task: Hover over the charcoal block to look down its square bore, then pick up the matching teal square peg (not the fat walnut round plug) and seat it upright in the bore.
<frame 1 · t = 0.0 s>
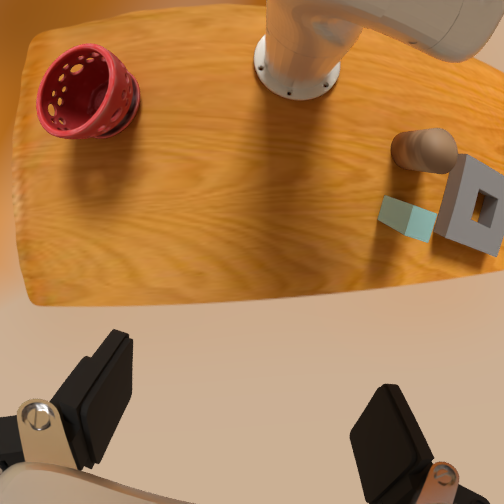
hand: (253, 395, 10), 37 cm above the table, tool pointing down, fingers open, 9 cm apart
plant pot: (111, 101, 41), on the table
square peg: (391, 210, 45), on the table
round plug: (407, 150, 42), on the table
socket block: (472, 204, 43), on the table
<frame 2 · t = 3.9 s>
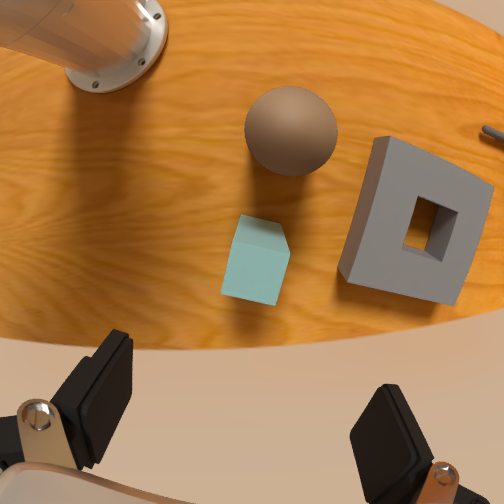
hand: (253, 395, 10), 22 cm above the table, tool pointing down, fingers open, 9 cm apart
square peg: (256, 238, 31), on the table
round plug: (281, 139, 28), on the table
socket block: (413, 221, 30), on the table
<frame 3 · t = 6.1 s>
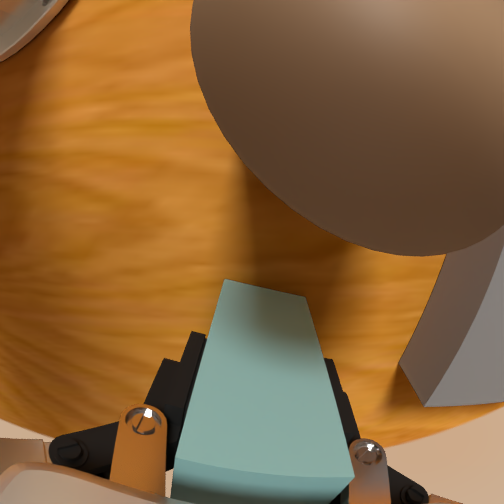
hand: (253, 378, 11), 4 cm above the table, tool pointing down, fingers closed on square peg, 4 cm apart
square peg: (255, 323, 15), on the table, touching gripper
round plug: (309, 120, 12), on the table
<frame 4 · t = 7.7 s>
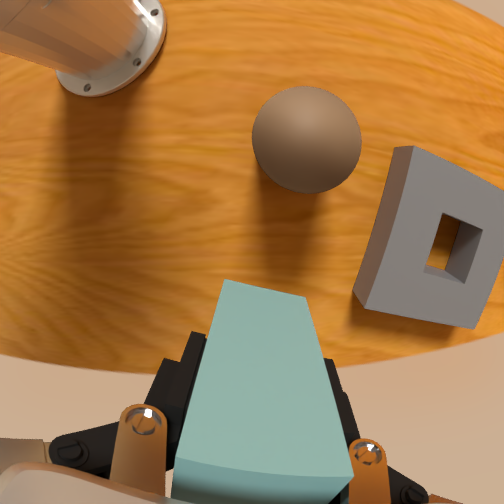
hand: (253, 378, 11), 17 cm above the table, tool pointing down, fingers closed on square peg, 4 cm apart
square peg: (255, 323, 15), point 13 cm above the table, touching gripper
round plug: (292, 148, 25), on the table
socket block: (434, 239, 27), on the table
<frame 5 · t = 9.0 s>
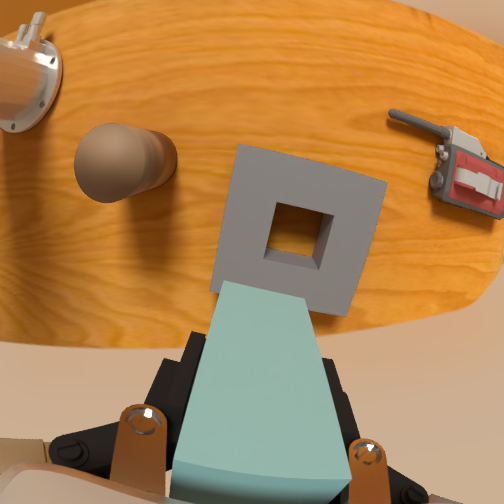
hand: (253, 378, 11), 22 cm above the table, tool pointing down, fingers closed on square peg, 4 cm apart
walkie-talkie: (450, 166, 30), on the table
square peg: (254, 324, 15), point 17 cm above the table, touching gripper
round plug: (149, 159, 30), on the table
socket block: (293, 227, 32), on the table
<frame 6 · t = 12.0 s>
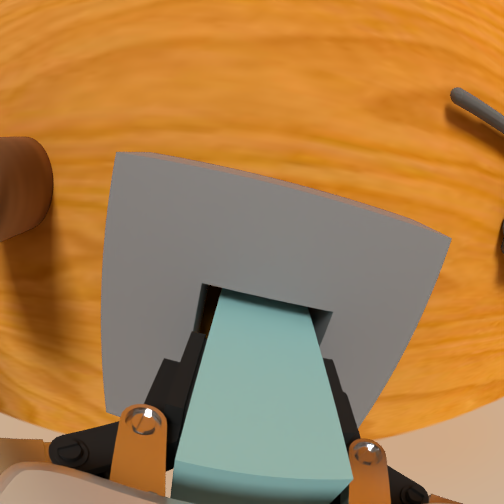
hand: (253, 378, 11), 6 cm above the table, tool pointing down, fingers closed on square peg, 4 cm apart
square peg: (255, 324, 15), point 1 cm above the table, touching gripper
round plug: (20, 184, 15), on the table
socket block: (254, 310, 17), on the table
when the fingers open (5 cm above the table, at t = 12.4 s): square peg stays where it is, resting in socket block.
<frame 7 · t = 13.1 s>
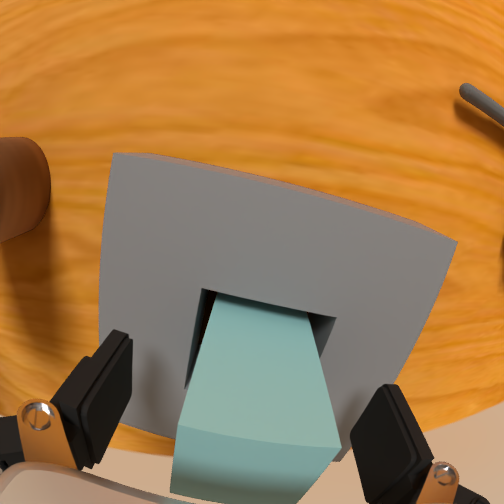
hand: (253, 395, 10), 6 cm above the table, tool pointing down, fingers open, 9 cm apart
square peg: (253, 314, 16), resting in socket block
round plug: (17, 185, 14), on the table
socket block: (255, 314, 16), on the table
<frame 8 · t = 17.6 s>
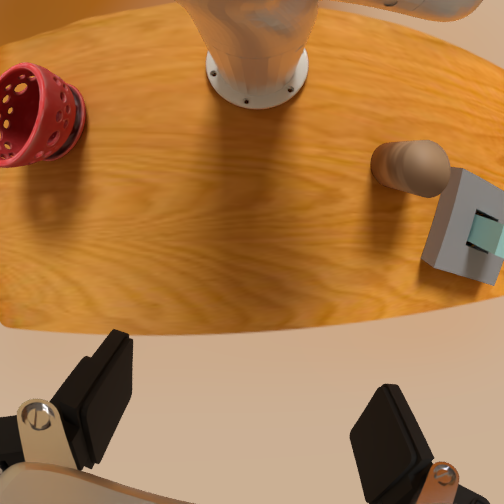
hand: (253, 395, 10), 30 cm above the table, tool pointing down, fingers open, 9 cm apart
plant pot: (60, 119, 35), on the table
square peg: (467, 225, 38), resting in socket block
round plug: (391, 165, 36), on the table
socket block: (468, 225, 38), on the table
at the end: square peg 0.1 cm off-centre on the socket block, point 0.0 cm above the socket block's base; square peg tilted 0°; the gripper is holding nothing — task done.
